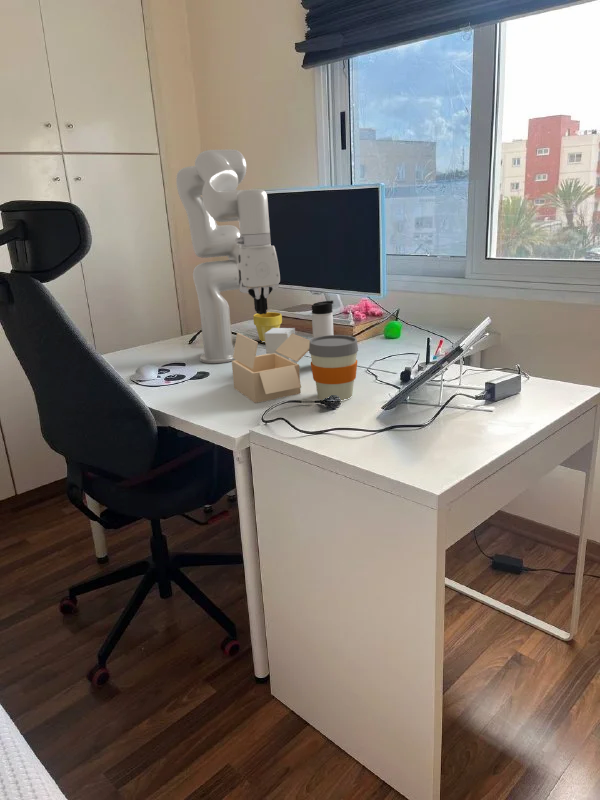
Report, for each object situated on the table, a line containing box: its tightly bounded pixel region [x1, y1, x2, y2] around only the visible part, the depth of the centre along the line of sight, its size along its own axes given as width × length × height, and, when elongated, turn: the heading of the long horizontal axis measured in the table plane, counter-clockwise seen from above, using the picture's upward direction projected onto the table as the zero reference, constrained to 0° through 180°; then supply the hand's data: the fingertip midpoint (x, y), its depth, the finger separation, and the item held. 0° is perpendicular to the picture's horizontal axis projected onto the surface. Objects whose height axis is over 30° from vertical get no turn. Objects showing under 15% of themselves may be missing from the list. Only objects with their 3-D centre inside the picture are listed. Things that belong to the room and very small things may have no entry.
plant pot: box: [252, 311, 283, 341], centre depth 220 cm, size 10×10×10 cm
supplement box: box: [264, 327, 298, 364], centre depth 181 cm, size 7×7×13 cm
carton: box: [231, 353, 302, 404], centre depth 164 cm, size 23×13×8 cm, turn 27°
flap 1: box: [233, 332, 259, 369], centre depth 159 cm, size 14×7×1 cm
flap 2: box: [276, 333, 311, 363], centre depth 166 cm, size 14×7×1 cm
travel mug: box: [311, 300, 334, 339], centre depth 183 cm, size 6×7×20 cm
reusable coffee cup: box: [308, 334, 359, 401], centre depth 156 cm, size 13×13×15 cm
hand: (261, 313), depth 158 cm, fingers closed
